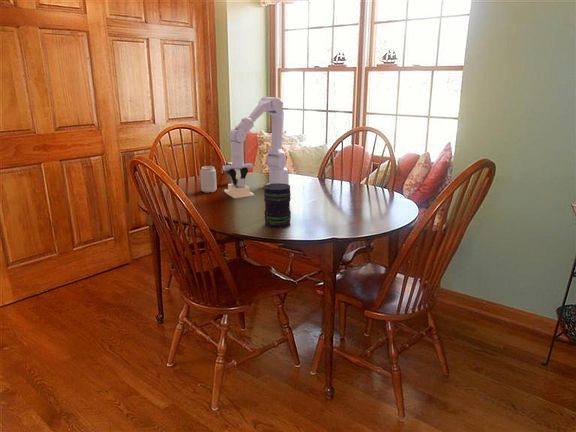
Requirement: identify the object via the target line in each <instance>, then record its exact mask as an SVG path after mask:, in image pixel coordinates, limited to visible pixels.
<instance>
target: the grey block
mask: <svg viewBox="0 0 576 432" xmlns="http://www.w3.org/2000/svg"><path fill="white" fill-rule="evenodd" d="M231 184H232V185H233V186H235V187H236V188H244V187H245V185H246V177H245V178H243V177H241V175H240V176H239V175H237V176H236V185H234V184H233V181H232V182H231Z"/></svg>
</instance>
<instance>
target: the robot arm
mask: <svg viewBox="0 0 576 432" xmlns="http://www.w3.org/2000/svg"><path fill="white" fill-rule="evenodd" d="M283 107H284V102H283V100H282V99H281V97H277V96H275V97H274V96H273V97H271V96H263V97H261V98H260V100H258V104H257V106H256V107H255V108H254V109H253V110H252V112H251V113H250V114H249V116H248V117H244V118H241V119H240V122H239V123H238V124H237V126H234V127H235V128H234V129H231V130H230V131H229V132H228V135H227V139H228V141H229V145H230V155H231V156H230V157H231V162H232V165H227V166H225V165H222V171H223V172H224V171H226V170H228V172H229V174H230V176H229V177H231V178H232V181H233V184H234V185H236V171H235V170H234V169H240V173H241V175H240V176H241V177H243V178H245V179H246V178H247V177H246V176H247V174H248V172H249V169H254V163H253V162H252V163H246V164H244V162H245V159H244V158H245V157H244V142H245V141H246V139H247V138H246V137H247V135H248V134H249V132H250V131H251V130H252V129H253V127H254V124H255V122H256V121H257V120H258V119H259V118H260V117H261V116H262V115H263V114H264V113H268V114H269V116H271V118H272V119H271V120H272V121H271V136H270V137H271V139H270V140H271V141H270V149H269V150H267V155H266V158H265V164H266V165H267V169H268V176H269V179H268V180H269V181H268V182H269V183H266V184H265V185H268V184H275V183H281V184H288V185H290V184H289V182H290V181H289V179H290V178H289V177H290V176H289V170H288V168H287V167H286V166H287V157H286V152H285V151H284V150H283V135H284V131H283V130H284V119H285V118H284V116H285V113H284V108H283ZM231 178H230V179H231Z"/></svg>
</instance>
